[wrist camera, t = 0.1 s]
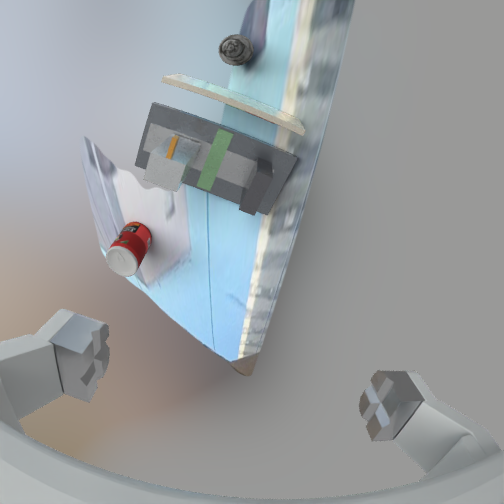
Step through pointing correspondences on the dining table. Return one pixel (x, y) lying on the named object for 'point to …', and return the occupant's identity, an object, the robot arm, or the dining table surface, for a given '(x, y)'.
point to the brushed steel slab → (171, 162)
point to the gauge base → (224, 147)
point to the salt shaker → (236, 50)
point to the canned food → (129, 249)
